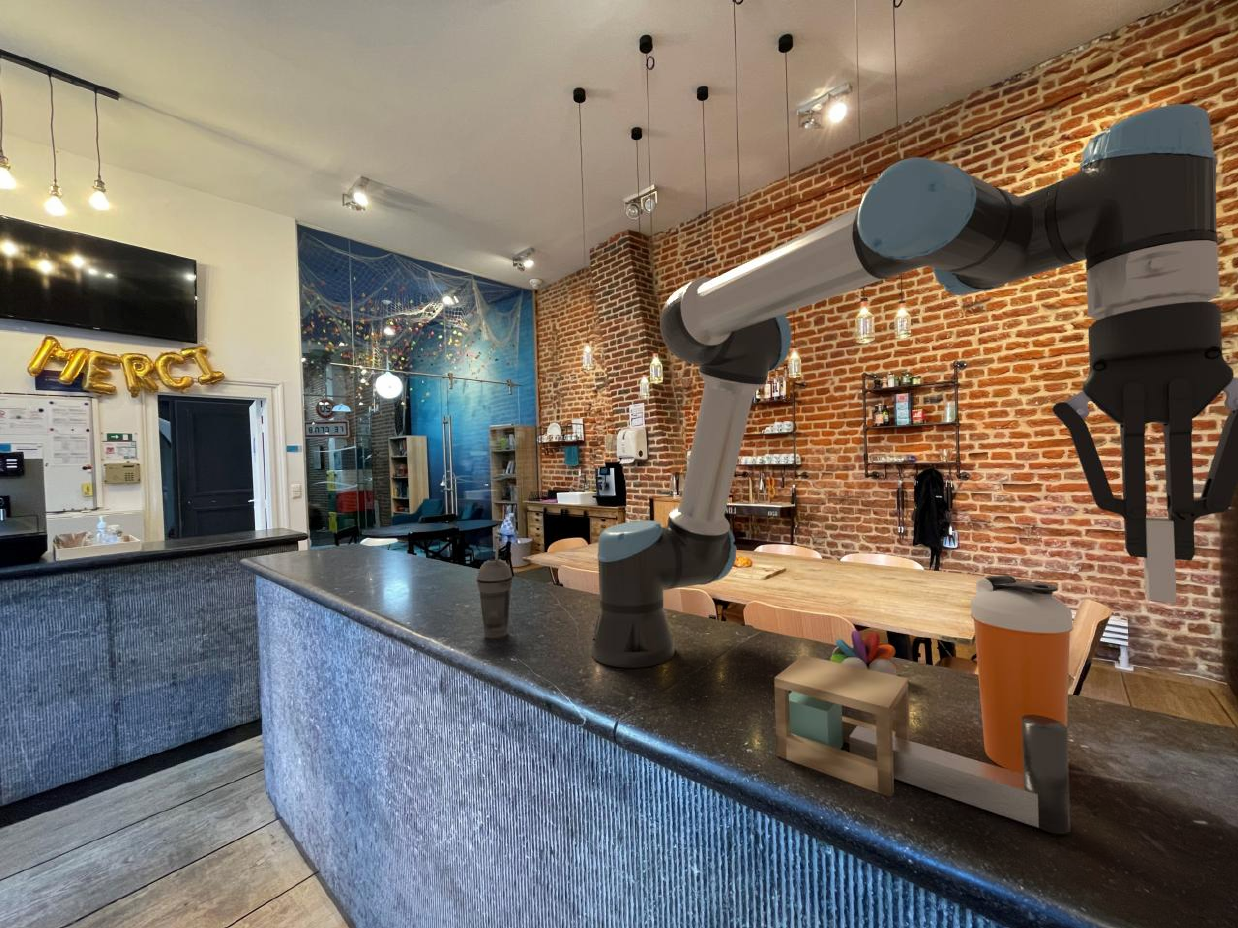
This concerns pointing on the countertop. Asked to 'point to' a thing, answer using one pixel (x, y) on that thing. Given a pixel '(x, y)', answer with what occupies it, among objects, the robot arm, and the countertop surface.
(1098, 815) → the countertop surface
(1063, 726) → the hammer
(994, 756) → the shaker bottle
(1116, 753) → the countertop surface
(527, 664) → the countertop surface
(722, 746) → the countertop surface
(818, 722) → the block
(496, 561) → the beverage cup
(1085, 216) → the robot arm
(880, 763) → the tunnel
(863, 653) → the rainbow segmented toy
